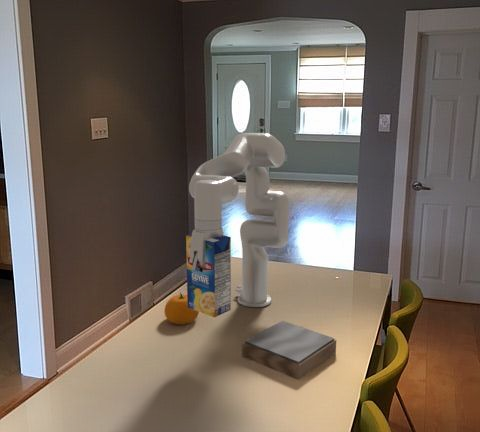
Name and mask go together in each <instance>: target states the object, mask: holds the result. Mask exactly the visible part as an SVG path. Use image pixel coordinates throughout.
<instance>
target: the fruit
mask: <svg viewBox="0 0 480 432" xmlns="http://www.w3.org/2000/svg"><path fill="white" fill-rule="evenodd" d="M199 313H200V312H199V311H196V310H193V309H191V308H188V303H187V294H182V293H181V292H180V293H179V294H177V295H176V294H175V295H173V296H172V297H171V298H169V300H167V302H166V303H165V305H164V316H165V318H166V319H167V321H168V322H170V323H172V324H175V325H187V324H190V323H192V322H194V321H195V320H196V319H197V318H198V316H199Z"/></svg>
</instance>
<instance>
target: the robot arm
mask: <svg viewBox="0 0 480 432" xmlns="http://www.w3.org/2000/svg"><path fill="white" fill-rule="evenodd" d="M285 150H286V149H285V147H284V145H283V144H282V143H281V142H280V140H278V139H277V138H276V137H275V136H274V135H272V134H270V133H262V132H242V133H239V134H237V135H236V136H235V137H234V138H233V139H232V141H231V142H230V144H229V145H228V147H227V149H225V151H224V153H223V154H220V155H218V156H215V157H214V158H211V159H210V160H207V161H205V162H204V163H202V164H200V166H198V168H197V169H196V170H195V172H194V173H193V175H192V177H191V179H190V182H189V185H188V190H189V194H190V196H191V197H192V198H193V199H194V201H193V202H194V229H193V230H192V232H191V234H192V237H191V247H190V262H191V263H193V266H192V269H193V270H196V271H201V272H202V271H203V270H202V267H199V263H200V266H205V261H206V240H208V239H212V238H216V237H219V236H221V235H224V230H223V227H222V221H223V218H222V204H226V203H231V202H232V201H234V200H235V199H236V197H238V194H239V189H240V188H239V183H238V181H237V180H236V179H235V178H234V177H239V176H241V175H243V173H244V175H245V205H244V206H245V211H246V213H247V214H248V215H250V216H254V217H255V216H257V217H265V218H273V219H274V220H267V219H256V218H253V219H251V218H250V219H249V218H248V219H246V220H244V221H243V222H242V223H241V225H240V229H239V233H240V242H241V249H242V250H241V251H242V252H241V253H242V254H241V256H242V262H241V263H242V265H241V266H242V267H241V268H242V269H241V271H242V274H241V276H242V277H241V285H239V284H238V285H237V286H236V288H235V289H234V291H235V292H236V293H238V294H239V296H238V297H237V302H238V303H239V304H240V305H241V306H244V307H248V308H264V307H266V306H269V305H270V304H271V303H272V298H271V296H270V295H268V284H269V282H268V280H269V279H268V274H269V273H268V271H269V256H268V253H267V251H266V250H265V247H266V248H277V249H278V248H284V247H285V246H286V245H287V243H288V237H289V221H290V200H289V199H290V198H289V196H288V195H287V193H286V192H284V191H280V190H279V191H278V190H271V189H270V180H271V178H270V175H269V172H268V170H267V169H266V168H272V169H273V168H274V169H275V168H276V169H277V168H280V167H282V166H283V164H284V163H285V160H286V151H285ZM193 259H194V261H193Z"/></svg>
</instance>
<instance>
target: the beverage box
mask: <svg viewBox="0 0 480 432" xmlns="http://www.w3.org/2000/svg"><path fill="white" fill-rule="evenodd" d="M185 237H186V238H185V241H186V242H185V243H186V244H185V245H186V246H185V248H186V284H187V285H186V287H187V288H186V293H187V294H186V295H187V303H188V308H191V309H193V310H196V311H199V313H201V314H204V315H207V316H209V317H212V318H217V317H219V316H221V315H223V314H225V313H227V312H229V311H231V309H232V308H231V307H232V306H231V305H232V303H231V302H232V301H231V297H232V296H231V295H232V294H231V293H232V292H231V289H232V288H231V285H232V283H231V282H232V281H231V280H232V279H231V278H232V277H231V276H232V275H231V273H232V272H231V270H232V269H231V267H232V266H231V265H232V264H231V263H232V262H231V261H232V260H231V258H232V257H231V256H232V255H231V253H232V252H231V249H232V246H231V241H232V240H231V238H232V237H231V236H227V235H224V234H223V235H221V236H219V237H216V238H212V239H208V240H206V261H205V266H200V263H199V267H202V270H203V271H202V272H201V271H196V270H193V269H192V266H193V263H191V262H190V247H191V237H192V233H189V234H186V235H185ZM193 261H194V259H193Z"/></svg>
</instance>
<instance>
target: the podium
mask: <svg viewBox="0 0 480 432" xmlns="http://www.w3.org/2000/svg"><path fill="white" fill-rule="evenodd" d="M241 347H242V348H241V357H243V358H245V359H247V360H250V361H252V362H254V363H257V364H260V365H261V366H265V367H266V368H269V369H271V370H274V371H276V372H279V373H281V374H283V375H286V376H288V377H290V378H293V379H295V380H298V381H299V380H300V379H302V378H304V377H305V376H306V375H307V374H309V373H311V372H312V371H313V370H315V369H316V368H318V367H319V366H321V365H322V364H323V363H324V362H326V361H328V360H329V359H330V358H331V357H333V356H334V355H336V354H337V353H336V352H337V339H335V338H334V337H331V336H329V335H326V334H323V333H320V332H317V331H315V330H312V329H309V328H305V327H304V326H303V327H302V326H300V325H297V324H294V323H291V322H288V321H285V320H281V321H278V322H277V323H275V324H274V325H272V326H270V327H267V328H266V329H264V330H262V331H260V332H258V333H256V334H255V335H253V336H250V337H249V338H246V339H245V340H244V341H243V342H242V344H241Z"/></svg>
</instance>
